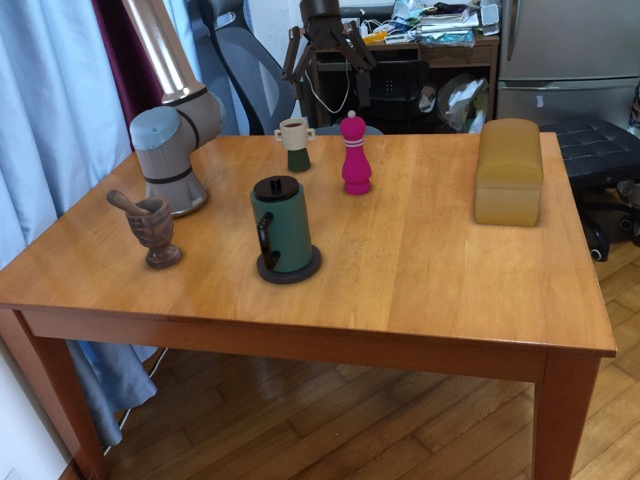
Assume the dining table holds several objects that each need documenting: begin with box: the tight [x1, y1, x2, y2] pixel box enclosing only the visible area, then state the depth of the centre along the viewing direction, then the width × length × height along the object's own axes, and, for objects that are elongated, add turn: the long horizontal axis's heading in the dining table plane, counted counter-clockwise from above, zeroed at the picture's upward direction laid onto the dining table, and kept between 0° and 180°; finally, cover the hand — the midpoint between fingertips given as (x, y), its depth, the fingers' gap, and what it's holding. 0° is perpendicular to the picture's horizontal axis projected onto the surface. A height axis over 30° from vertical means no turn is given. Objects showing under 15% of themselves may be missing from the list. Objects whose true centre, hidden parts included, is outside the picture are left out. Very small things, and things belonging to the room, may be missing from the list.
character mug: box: [273, 117, 316, 173], centre depth 144 cm, size 11×7×13 cm, turn 80°
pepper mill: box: [339, 110, 372, 196], centre depth 129 cm, size 7×7×20 cm
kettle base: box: [256, 243, 322, 285], centre depth 110 cm, size 13×13×2 cm
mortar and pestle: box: [105, 189, 182, 270], centre depth 110 cm, size 12×9×20 cm
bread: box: [473, 117, 545, 227], centre depth 119 cm, size 24×13×15 cm, turn 164°
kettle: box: [249, 174, 313, 272], centre depth 104 cm, size 19×10×18 cm, turn 164°
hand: (336, 111), depth 108 cm, fingers open, 13 cm apart
